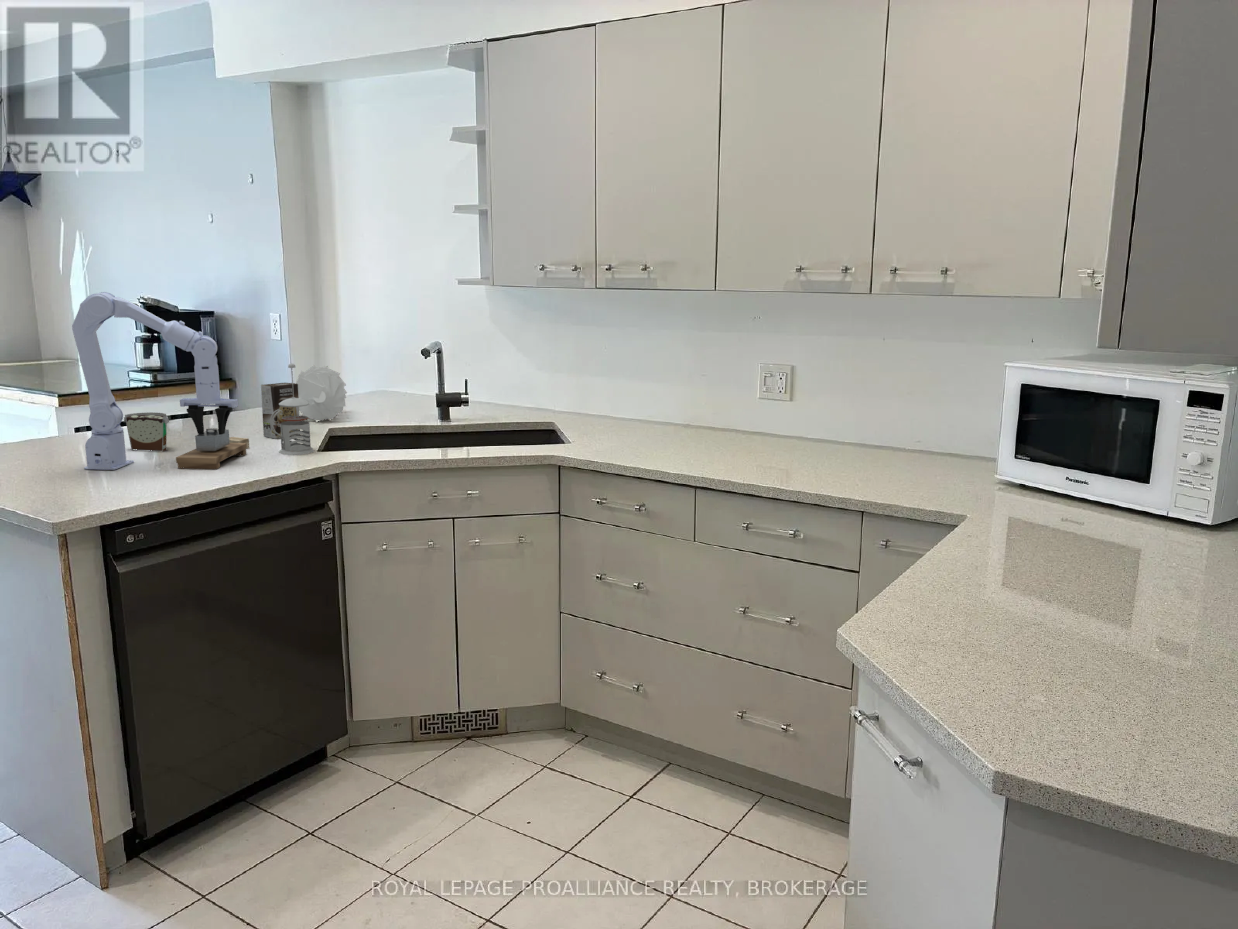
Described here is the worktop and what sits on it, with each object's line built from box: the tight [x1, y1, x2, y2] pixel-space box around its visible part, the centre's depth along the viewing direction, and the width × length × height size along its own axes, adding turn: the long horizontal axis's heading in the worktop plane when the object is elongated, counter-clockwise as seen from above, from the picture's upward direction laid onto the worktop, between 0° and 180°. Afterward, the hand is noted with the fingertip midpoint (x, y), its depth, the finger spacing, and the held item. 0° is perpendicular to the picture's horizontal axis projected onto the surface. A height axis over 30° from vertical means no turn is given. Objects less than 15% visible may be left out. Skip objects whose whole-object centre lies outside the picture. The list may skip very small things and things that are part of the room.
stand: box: [175, 443, 247, 470], centre depth 241 cm, size 20×10×3 cm, turn 0°
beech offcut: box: [229, 436, 250, 450], centre depth 257 cm, size 4×6×3 cm, turn 70°
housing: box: [194, 427, 230, 451], centre depth 240 cm, size 9×5×5 cm, turn 0°
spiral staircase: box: [295, 364, 348, 422], centre depth 309 cm, size 18×18×25 cm
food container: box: [123, 411, 170, 452], centre depth 254 cm, size 12×6×10 cm, turn 84°
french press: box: [270, 362, 316, 456], centre depth 252 cm, size 10×12×25 cm
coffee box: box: [260, 382, 301, 440], centre depth 275 cm, size 9×6×16 cm
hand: (211, 433), depth 239 cm, fingers closed on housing, 5 cm apart
